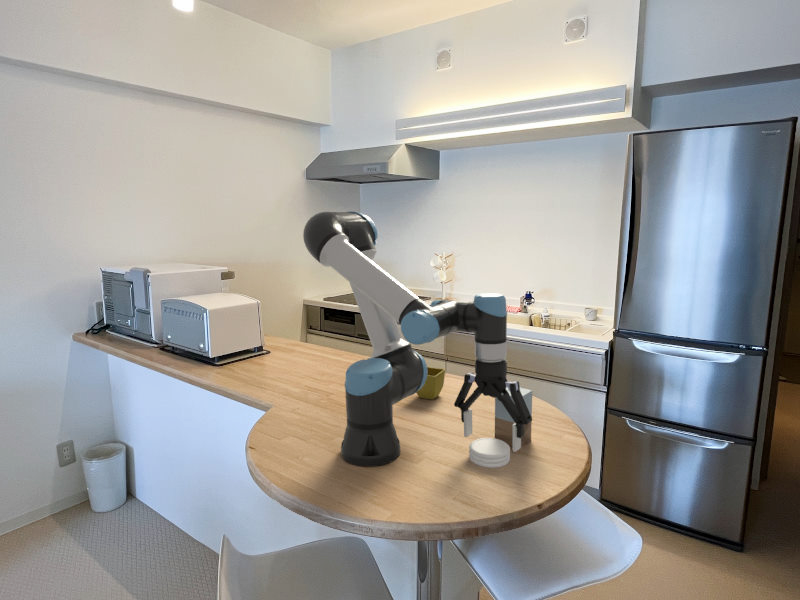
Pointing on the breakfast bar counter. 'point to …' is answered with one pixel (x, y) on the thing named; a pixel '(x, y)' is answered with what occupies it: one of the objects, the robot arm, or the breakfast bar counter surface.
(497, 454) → the white round disc
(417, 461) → the breakfast bar counter surface
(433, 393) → the flower pot
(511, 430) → the block bottom
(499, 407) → the block top
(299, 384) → the breakfast bar counter surface
